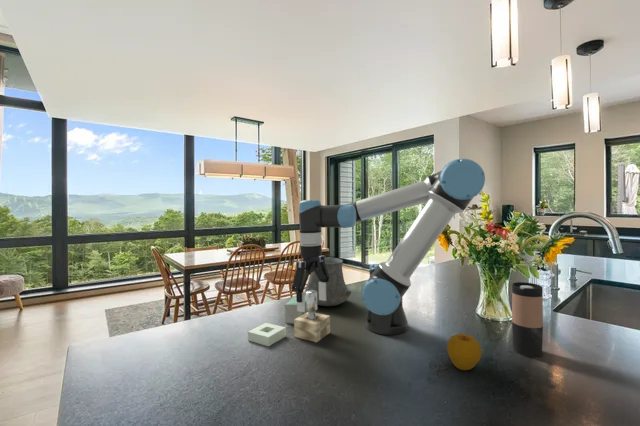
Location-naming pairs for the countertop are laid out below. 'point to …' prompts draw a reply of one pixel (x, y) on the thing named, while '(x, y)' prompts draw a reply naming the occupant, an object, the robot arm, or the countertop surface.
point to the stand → (266, 334)
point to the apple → (464, 351)
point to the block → (312, 327)
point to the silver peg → (311, 304)
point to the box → (293, 310)
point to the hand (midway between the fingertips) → (312, 305)
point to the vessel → (330, 284)
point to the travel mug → (527, 319)
